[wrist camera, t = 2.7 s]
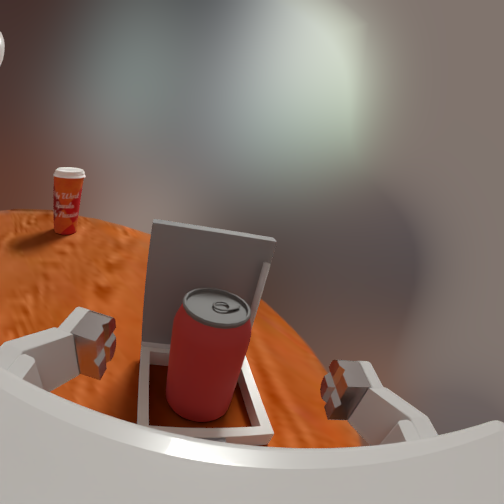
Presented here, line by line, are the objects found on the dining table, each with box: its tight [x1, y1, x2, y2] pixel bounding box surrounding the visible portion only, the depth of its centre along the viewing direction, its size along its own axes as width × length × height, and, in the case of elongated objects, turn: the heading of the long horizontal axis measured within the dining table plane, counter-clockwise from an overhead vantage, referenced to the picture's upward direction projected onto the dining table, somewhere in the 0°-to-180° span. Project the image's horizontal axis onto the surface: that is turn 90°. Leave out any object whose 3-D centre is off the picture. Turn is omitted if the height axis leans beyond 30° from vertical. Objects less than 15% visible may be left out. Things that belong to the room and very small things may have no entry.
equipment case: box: [137, 219, 276, 446], centre depth 25 cm, size 12×14×16 cm
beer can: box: [166, 288, 251, 422], centre depth 25 cm, size 7×7×12 cm
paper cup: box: [53, 167, 86, 235], centre depth 54 cm, size 8×8×14 cm
